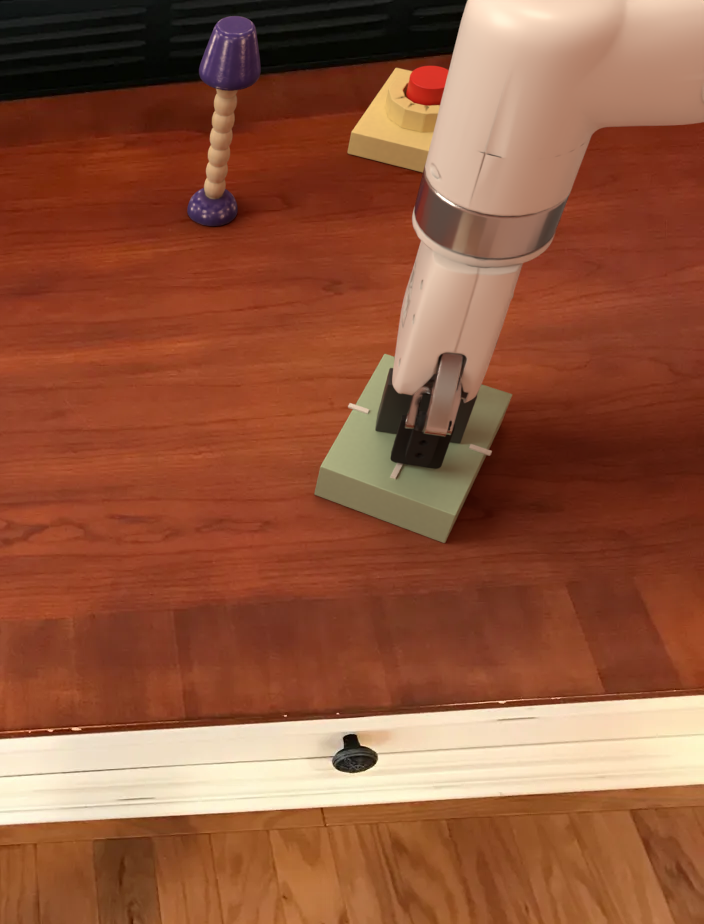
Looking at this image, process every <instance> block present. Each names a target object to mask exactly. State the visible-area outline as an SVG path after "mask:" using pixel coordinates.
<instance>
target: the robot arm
mask: <svg viewBox="0 0 704 924" xmlns="http://www.w3.org/2000/svg"><path fill="white" fill-rule="evenodd" d="M461 16H462V17H461V20H460V23H459V28H458V32H457V36H456V40H455V44H454V47H453V52H452V56H451V60H450V64H449V68H448V70H449V71H448V76H447V80H446V84H445V88H444V92H443V96H442V100H441V104H440V108H439V112H438V116H437V120H436V124H435V128H434V132H433V136H432V140H431V144H430V148H429V152H428V156H427V160H426V163H425V166H424V170H423V172H422V175H421V179H420V183H419V187H418V190H417V195H416V198H415V202H414V207H413V211H412V216H411V223H412V227H413V230H414V232H415V235H416V236H417V238H418V239H419V240H420V242H419V246H418V249H417V253H416V256H415V260H414V263H413V267H412V270H411V272H410V275H409V279H408V282H407V285H406V288H405V291H404V296H403V299H402V304H401V309H400V316H399V323H398V331H397V337H396V345H395V351H394V357H395V359H394V367H393V376H392V384H393V387H394V389H395V390H396V391H397V392H398V393H399V394H407V395H412V397H411V401H410V405H409V409H408V413H407V415H402V417H401V420H400V424H399V427H398V430H397V434H396V437H395V441H394V444H393V448H392V451H391V458H390V459H391V461H393V462H395V463H401V464H407V465H414V466H420V467H426V468H432V469H438V468H440V467H441V466H442V463H443V460H444V458H445V455H446V452H447V449H448V446H449V443H450V440H451V438H452V435H453V432H454V429H455V419H456V416H457V412H458V408H459V405H460V401H461V399H463V401H464V403H466V402H468V401H470V400H472V399H473V398H474V397H475V396H476V395H477V393H478V391H479V389H480V387H481V384H482V385H483V381H484V379H485V376H486V374H487V371H488V368H489V366H490V363H491V361H492V358H493V355H494V352H495V349H496V346H497V344H498V341H499V338H500V335H501V332H502V329H503V326H504V323H505V320H506V317H507V315H508V310H509V309H510V305H511V302H512V300H513V298H514V295H515V294H514V293H515V289H516V287H517V283H518V281H519V277H520V274H521V271H522V268H523V265H524V264H525V263H527V262H530V261H532V260H534V259H536V258H538V257H539V256H541V255H542V254H543V253H545V252H546V251H547V250H548V248H549V247H550V246H551V244H552V242H553V241H554V238H555V235H556V232H557V229H558V227H559V224H560V221H561V218H562V216H563V213H564V211H565V209H566V205H567V203H568V200H569V198H570V194H571V192H572V189H573V187H574V184H575V181H576V179H577V176H578V173H579V170H580V168H581V165H582V162H583V159H584V158H585V157H584V156H585V155H586V152H587V149H588V147H589V144H590V141H591V139H592V136H593V134H595V133H596V132H597V131H598V130H601V129H603V128H616V127H617V128H620V127H660V126H661V127H664V126H665V127H666V126H684V125H695V124H701V123H704V0H466V3H465V6H464V10H463V13H462V15H461ZM433 374H435V379H434V380H431V377H432V376H433ZM423 394H424V395H431V398H430V403H429V407H428V411H427V412H424V411H419V407H420V403H421V399H422V395H423Z"/></svg>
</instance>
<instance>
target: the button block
mask: <svg viewBox="0 0 704 924" xmlns="http://www.w3.org/2000/svg"><path fill="white" fill-rule="evenodd" d="M412 71H413V70H409V69H404V68H400V67H395V68H394V70H393V71H392V72H391V74H390V76H389V77H388V78H387V80H386V81H385V83H384V84H383V85H382V87H381V88H380V90H379V91H378V93H377V94H376V95H375V97H374V99H373V100H372V101H371V103H370V104H369V105H368V107H367V109H366V110H365V112H364V113H363V115H362V116H361V118H360V119H359V120H358V122H357V123H356V125H355V126H354V128H353V129H352V130H351V132H350V137H349V142H348V146H347V147H348V148H347V154H348V155H352V156H356V157H360V158H364V159H367V160H371V161H376V162H380V163H384V164H386V165H387V164H388V165H392V166H396V167H399V168H403V169H407V170H411V171H415V172H419V173H423V170H424V166H425V163H426V160H427V156H428V152H429V148H430V144H431V140H432V136H433V132H434V128H435V124H436V120H437V116H438V112H439V108H440V105H432V106H425V105H421V104H417V103H414V102H412V101H411V100H409V99H408V98H407V96H406V92H407V87H408V83H409V78H410V74H411V73H412Z"/></svg>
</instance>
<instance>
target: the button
mask: <svg viewBox="0 0 704 924" xmlns="http://www.w3.org/2000/svg"><path fill="white" fill-rule="evenodd" d="M411 71H412V73H411V74H410V78H409V83H408V87H407V92H406V96H407V98H408V99H409V100H411V101H412V102H414V103H417V104H421V105H425V106H432V105H440V104H441V100H442V96H443V92H444V88H445V84H446V80H447V76H448V71H449V69H448V68H445V67H443V66H438V65H424V66H419V67H417V68H415V69H413V70H411Z"/></svg>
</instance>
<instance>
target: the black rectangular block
mask: <svg viewBox="0 0 704 924" xmlns="http://www.w3.org/2000/svg"><path fill="white" fill-rule="evenodd" d="M392 376H393V368H390V369H389V372H388V376H387V380H386V384H385V387H384V391H383V395H382V399H381V402H380V406H379V410H378V414H377V420H376V427H375V430H376V431H380V432H387V433H393V434H397V430H398V427H399V424H400V420H401V417H402V415H407V413H408V409H409V405H410V401H411V397H412V395H407V394H399V393H398V392H397V391H396V390H395V389H394V387H393V384H392ZM434 379H435V374H433V376H432V377H431V380H434ZM430 398H431V395H424V394H423V395H422V399H421V403H420V407H419V411H424V412H427V411H428V407H429V403H430ZM476 399H477V395H476V396H475V397H474V398H473V399H472V400H470V401H468V402H466V403H464V401H463V399H461V401H460V405H459V408H458V412H457V416H456V419H455V429H454V432H453V435H452V438H451V440H450V442H452V443H461V440H462V438H463V435H464V432H465V429H466V426H467V424H468V421H469V418H470V415H471V413H472V410H473V407H474V404H475V401H476Z"/></svg>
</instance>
